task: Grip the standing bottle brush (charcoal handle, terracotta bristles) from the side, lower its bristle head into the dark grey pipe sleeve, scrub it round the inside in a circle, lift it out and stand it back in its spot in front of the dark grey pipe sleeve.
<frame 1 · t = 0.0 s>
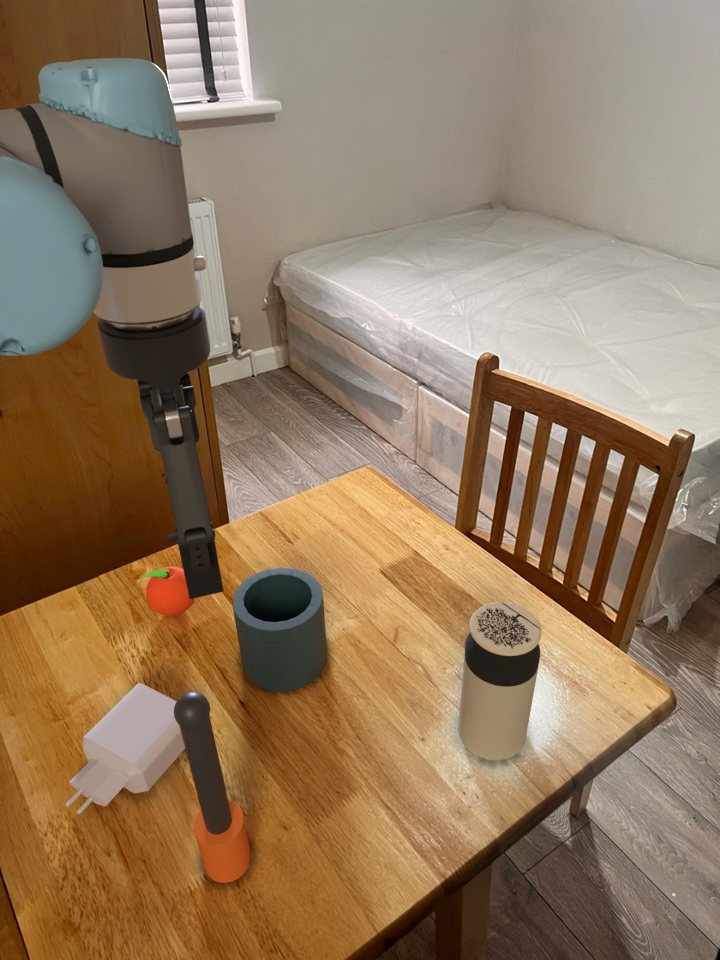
hand: (195, 541, 64), 34 cm above the table, tool pointing down, fingers open, 13 cm apart
travel mug: (491, 733, 87), on the table
charger: (127, 768, 84), on the table
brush: (227, 859, 75), on the table
dark grey pipe sleeve: (284, 657, 97), on the table
clementine: (172, 609, 105), on the table
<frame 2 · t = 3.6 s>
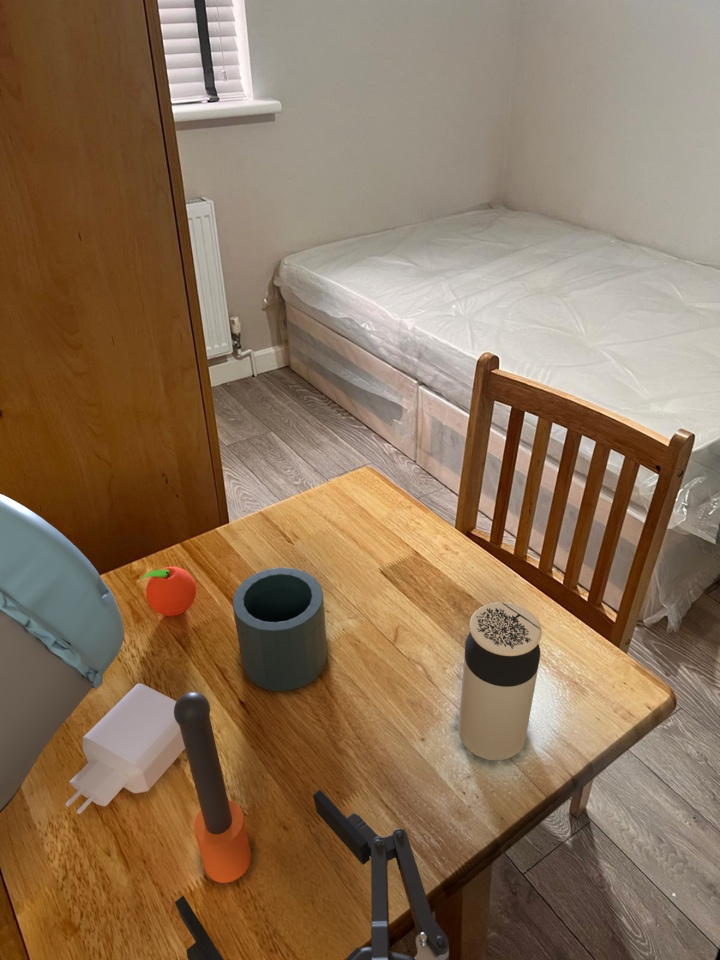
hand: (253, 850, 61), 14 cm above the table, tool horizontal, fingers open, 13 cm apart
nothing on the table moved.
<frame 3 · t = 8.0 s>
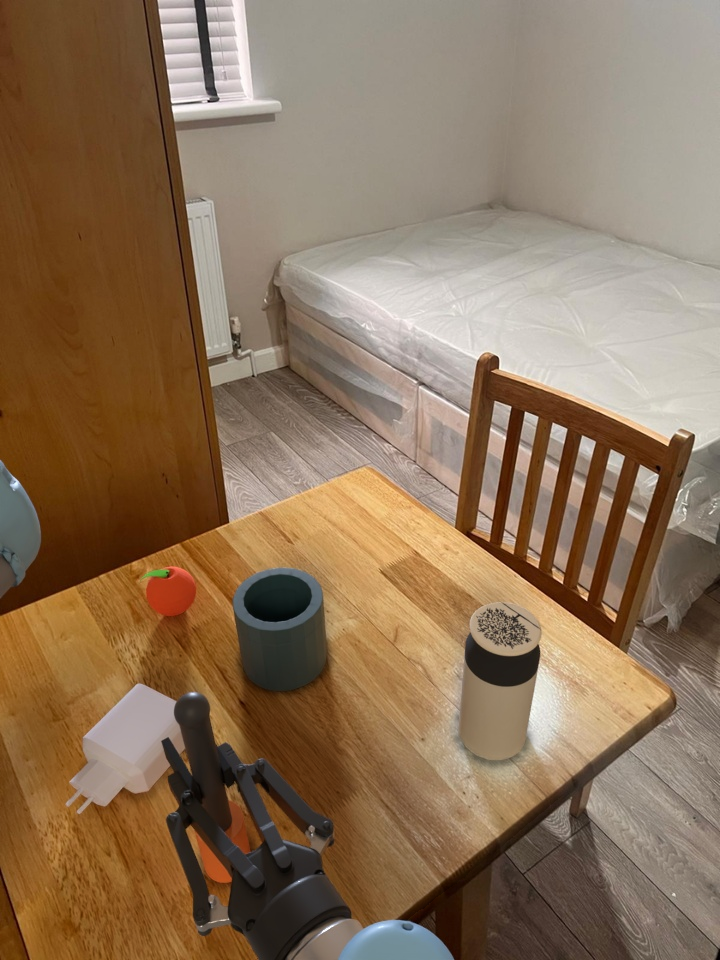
hand: (183, 738, 71), 14 cm above the table, tool horizontal, fingers closed on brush, 3 cm apart
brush: (227, 859, 75), on the table, touching gripper
everything else where it was.
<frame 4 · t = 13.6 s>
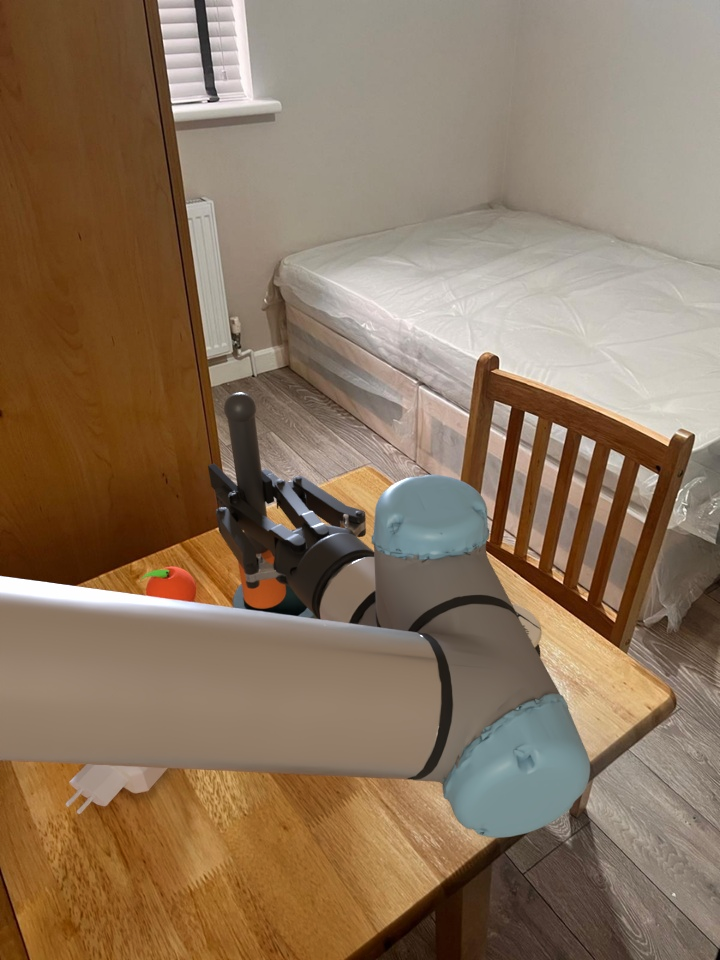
hand: (226, 470, 79), 31 cm above the table, tool horizontal, fingers closed on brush, 3 cm apart
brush: (264, 593, 83), point 17 cm above the table, touching gripper
everything else where it was.
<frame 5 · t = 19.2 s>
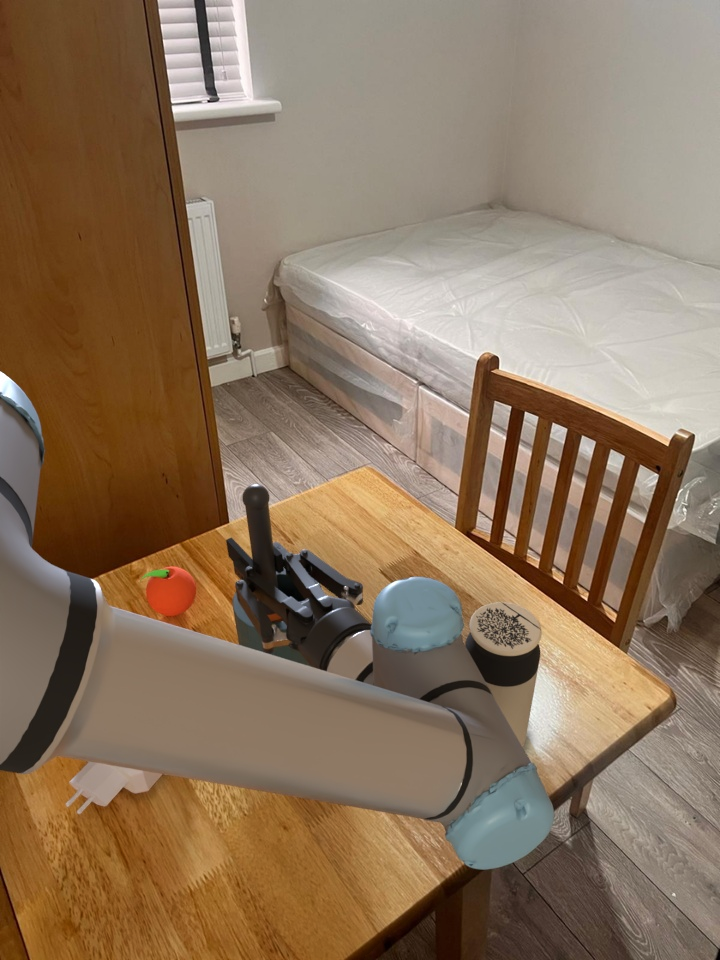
hand: (241, 541, 91), 17 cm above the table, tool horizontal, fingers closed on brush, 3 cm apart
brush: (274, 646, 95), point 3 cm above the table, touching gripper
everything else where it was.
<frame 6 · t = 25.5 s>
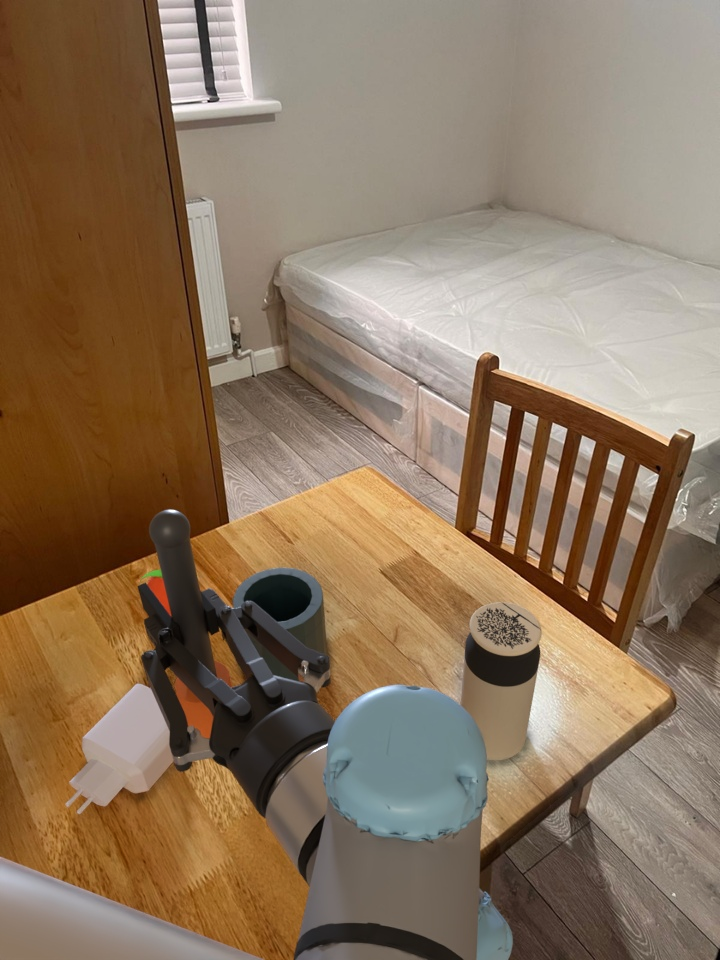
hand: (162, 587, 64), 31 cm above the table, tool horizontal, fingers closed on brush, 3 cm apart
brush: (213, 730, 68), point 17 cm above the table, touching gripper
everything else where it was.
when the fingers open (14 cm above the table, at t = 30.6 s): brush stays where it is, on the table.
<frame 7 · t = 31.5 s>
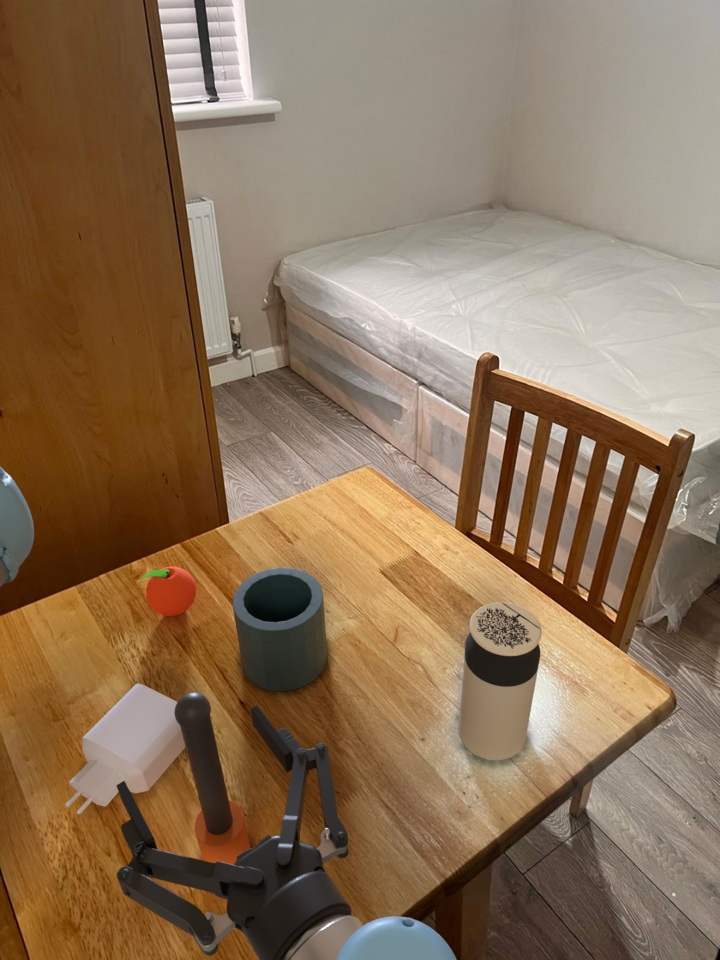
hand: (192, 751, 69), 15 cm above the table, tool horizontal, fingers open, 13 cm apart
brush: (228, 859, 75), on the table
everything else where it was.
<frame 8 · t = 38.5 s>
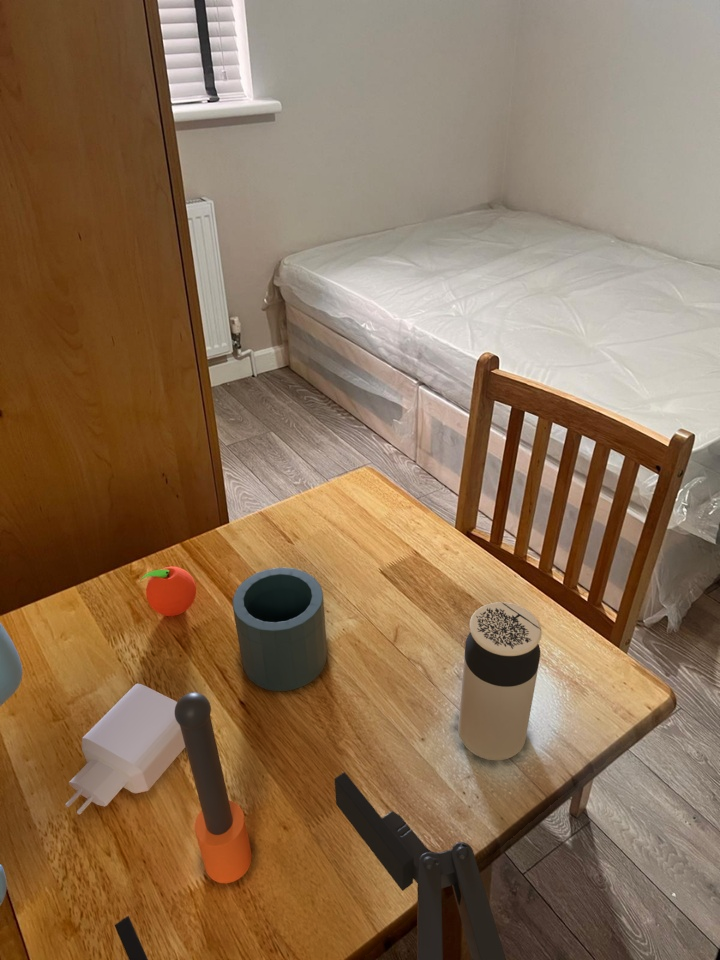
hand: (241, 854, 41), 34 cm above the table, tool horizontal, fingers open, 13 cm apart
nothing on the table moved.
at the end: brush inside the target area on the table beside the dark grey pipe sleeve (0.1 cm from its centre), on the table; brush tilted 0°; the gripper is holding nothing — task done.
